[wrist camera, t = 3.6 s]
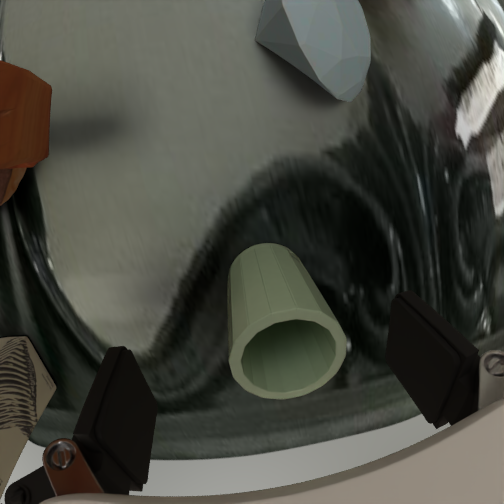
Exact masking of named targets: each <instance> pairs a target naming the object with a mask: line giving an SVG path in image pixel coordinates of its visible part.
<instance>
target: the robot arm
mask: <svg viewBox="0 0 504 504" xmlns="http://www.w3.org/2000/svg"><path fill="white" fill-rule="evenodd" d="M478 351H479V350H478V349H477V348H476V347H475V346H474V345H472V344H471V343H470V342H469V341H468V340H467V339H466V338H465V337H464V336H463V335H462V334H461V333H460V332H458V331H457V330H456V329H455V328H454V327H453V326H452V325H451V324H450V323H448V322H447V321H446V320H445V319H444V318H443V317H442V316H441V315H439V314H438V313H437V312H436V311H435V310H434V309H433V308H431V307H430V306H429V305H428V304H427V303H426V302H425V301H423V300H422V299H421V298H420V297H419V296H417V295H416V294H415V293H414V292H413V291H411V290H409V291H405V292H402V293H398V294H396V296H395V299H393V300H392V303H391V313H390V323H389V332H388V340H387V348H386V356H385V357H386V362H387V364H388V365H389V367H390V368H391V370H392V371H393V372H394V374H395V375H396V377H397V378H398V379H399V381H400V382H401V384H402V385H403V387H404V388H405V389H406V391H407V392H408V394H409V395H410V397H411V398H412V400H413V401H414V403H415V404H416V405H417V407H418V408H419V410H420V411H421V413H422V414H423V416H424V417H425V419H426V420H427V422H428V423H433V425H434V426H435V428H436V429H438V428H439V427H441V426H443V425H445V424H447V423H448V422H449V423H450V425H451V426H450V427H448V428H446V429H444V430H442V431H441V432H438V433H436V434H434V435H432V436H430V437H428V438H426V439H424V440H422V441H420V442H418V443H416V444H414V445H411V446H410V447H407V448H405V449H402V450H400V451H398V452H396V453H393V454H390V455H388V456H386V457H383V458H380V459H378V460H375V461H372V462H369V463H367V464H364V465H361V466H358V467H355V468H352V469H349V470H346V471H342V472H339V473H336V474H332V475H329V476H325V477H321V478H317V479H314V480H309V481H305V482H301V483H296V484H292V485H287V486H281V487H276V488H270V489H264V490H258V491H250V492H243V493H234V494H224V495H211V496H187V497H186V496H185V497H160V496H134V495H129V490H130V491H142V489H143V484H146V483H147V480H148V472H149V463H150V456H151V449H152V442H153V435H154V429H155V422H156V416H157V409H158V408H157V402H156V400H155V398H154V396H153V394H152V392H151V390H150V388H149V386H148V384H147V382H146V380H145V378H144V376H143V374H142V372H141V370H140V368H139V366H138V364H137V362H136V359H135V357H134V355H133V353H132V351H131V350H127V348H126V347H124V346H119V347H110V348H109V349H108V350H107V352H106V355H105V357H104V359H103V361H102V364H101V366H100V368H99V370H98V373H97V375H96V377H95V380H94V382H93V384H92V387H91V389H90V392H89V394H88V396H87V399H86V401H85V404H84V406H83V409H82V411H81V414H80V417H79V419H78V422H77V425H76V427H75V430H74V433H73V434H74V435H73V438H72V440H71V439H67V438H61V439H57V440H55V441H53V442H51V443H50V444H49V445H48V446H47V447H46V448H45V450H44V453H43V457H42V460H43V465H44V466H42V467H40V468H39V469H37V470H35V471H34V472H32V473H30V474H28V475H27V476H25V477H23V478H21V479H20V480H18V481H16V482H14V483H12V484H11V485H10V486H9V487H8V489H7V490H6V493H5V504H504V352H503V351H499V350H491V351H488V352H486V353H484V354H483V355H482V356H481V357H480V356H479V355H478ZM1 504H2V503H1Z"/></svg>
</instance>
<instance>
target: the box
mask: <svg viewBox="0 0 504 504" xmlns="http://www.w3.org/2000/svg"><path fill="white" fill-rule="evenodd" d="M55 390H56V385H55V384H54V382H53V380H52V378H51V377H50V375H49V373H48V372H47V370H46V368H45V367H44V365H43V363H42V361H41V360H40V358H39V356H38V354H37V353H36V351H35V349H34V347H33V346H32V344H31V342H30V340H29V339H28V338H27V337H26V336H23V337H5V338H0V499H1V497H2V494H3V491H4V489H5V487H6V485H7V483H8V480H9V478H10V476H11V474H12V471H13V469H14V467H15V465H16V463H17V461H18V459H19V457H20V455H21V453H22V450H23V449H24V447H25V445H26V443H27V441H28V439H29V436H30V435H31V433H32V431H33V429H34V427H35V425H36V423H37V422H38V420H39V418H40V416H41V415H42V413H43V411H44V409H45V408H46V406H47V404H48V402H49V400H50V399H51V397H52V395H53V394H54V392H55Z"/></svg>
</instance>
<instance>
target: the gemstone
mask: <svg viewBox="0 0 504 504" xmlns="http://www.w3.org/2000/svg"><path fill="white" fill-rule="evenodd" d="M255 41H257V42H258V43H260V44H262V45H263V46H265V47H266V48H268V49H269V50H271V51H273V52H274V53H276V54H277V55H279V56H280V57H282V58H283V59H284V60H286V61H287V62H289V63H290V64H292V65H293V66H294V67H296V68H297V69H299V70H300V71H301V72H303V73H304V74H306V75H307V76H308V77H310V78H311V79H312V80H313V81H315V82H316V83H317V84H319V85H320V86H321V87H323V88H324V89H325V90H326V91H328V92H329V93H330V94H331V95H333V96H334V97H335V98H336V99H339V100H344V101H348V102H351V101H352V100H353V99H354V98H355V97H356V96H357V95H358V94H359V93H360V91H361V90H362V87H363V84H364V81H365V77H366V74H367V71H368V68H369V65H370V62H371V52H370V34H369V30H368V27H367V23H366V20H365V17H364V13H363V10H362V7H361V5H360V4H359V2H358V0H265V2H264V6H263V10H262V14H261V18H260V21H259V25H258V29H257V34H256V38H255Z"/></svg>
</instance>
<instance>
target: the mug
mask: <svg viewBox="0 0 504 504" xmlns="http://www.w3.org/2000/svg"><path fill="white" fill-rule="evenodd" d="M51 94H52V88H51V86H50V85H49V84H47V83H46V82H45V81H43V80H42V79H40V78H39V77H37V76H36V75H35V74H33V73H32V72H30V71H29V70H26V69H23V68H20V67H18V66H15V65H12V64H9V63H6V62H4V61H1V60H0V206H1V205H2V204H3V203H4V202H6V201H7V200H9V198H10V197H11V196H12V194H13V193H14V192H15V190H16V189H17V187H18V184H19V182H20V181H21V179H22V178H23V176H24V173H25V171H26V168H28V167H33V166H34V165H35V164H37V163H38V162H39V161H42V160H44V159H45V158H47V157H48V155H49V127H50V107H51Z"/></svg>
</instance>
